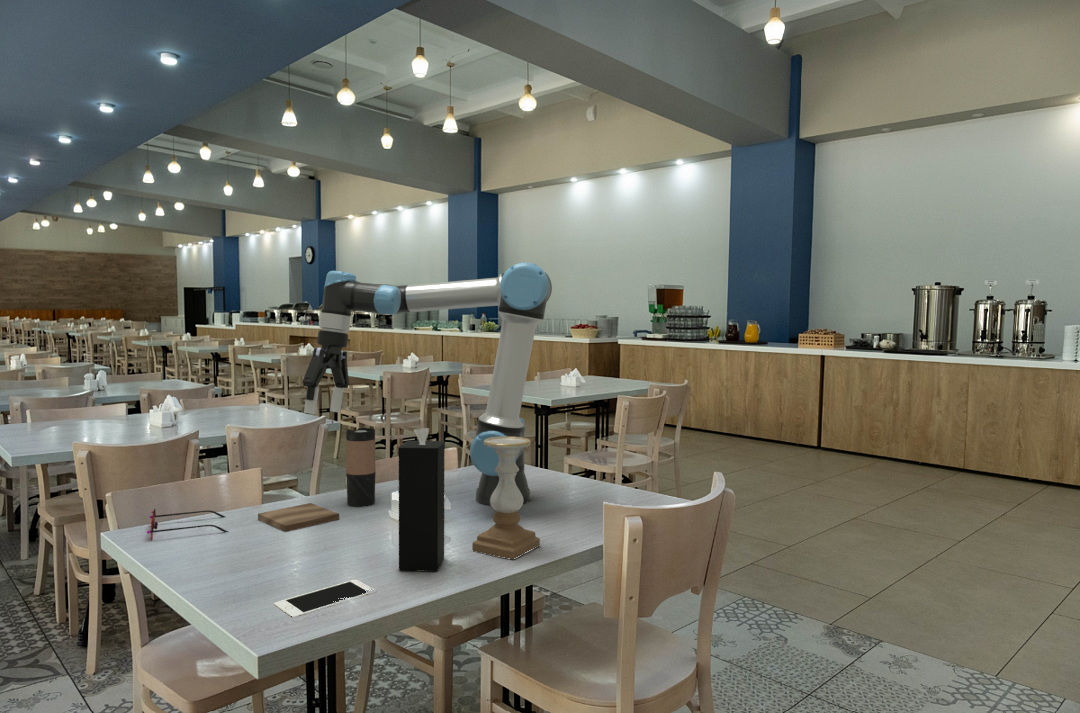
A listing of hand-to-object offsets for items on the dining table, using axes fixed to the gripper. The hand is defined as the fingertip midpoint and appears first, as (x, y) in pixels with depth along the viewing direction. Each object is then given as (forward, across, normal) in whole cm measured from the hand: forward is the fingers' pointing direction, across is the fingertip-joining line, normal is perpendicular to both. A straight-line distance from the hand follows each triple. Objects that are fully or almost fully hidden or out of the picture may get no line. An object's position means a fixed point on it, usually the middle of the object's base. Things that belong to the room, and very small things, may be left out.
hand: (322, 412), depth 178 cm
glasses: (+30, +19, -20) cm, 41 cm away
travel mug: (+24, -10, +9) cm, 28 cm away
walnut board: (+26, +7, +1) cm, 27 cm away
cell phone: (+28, +49, +31) cm, 65 cm away
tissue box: (+25, +30, +42) cm, 57 cm away
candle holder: (+22, +17, +56) cm, 62 cm away
